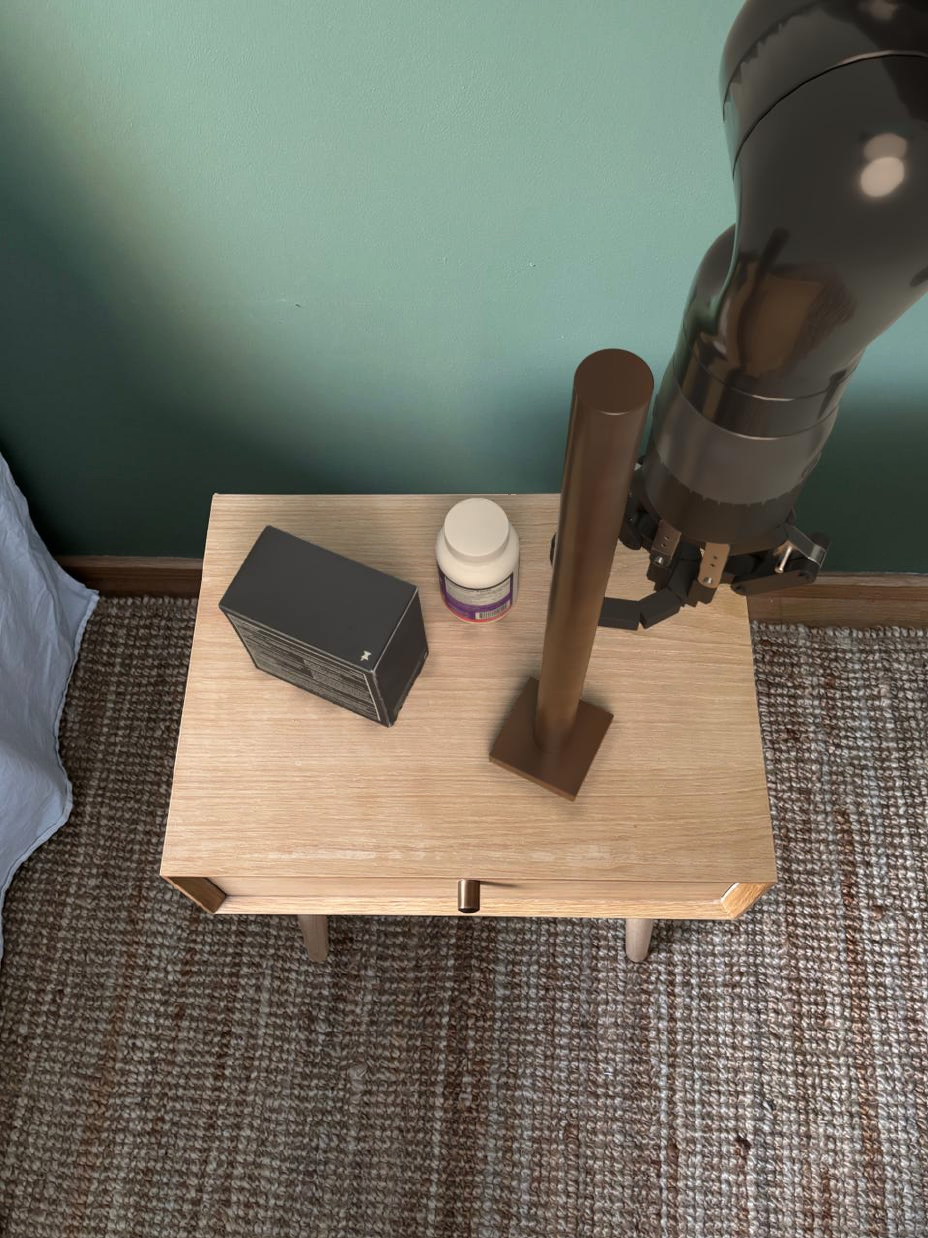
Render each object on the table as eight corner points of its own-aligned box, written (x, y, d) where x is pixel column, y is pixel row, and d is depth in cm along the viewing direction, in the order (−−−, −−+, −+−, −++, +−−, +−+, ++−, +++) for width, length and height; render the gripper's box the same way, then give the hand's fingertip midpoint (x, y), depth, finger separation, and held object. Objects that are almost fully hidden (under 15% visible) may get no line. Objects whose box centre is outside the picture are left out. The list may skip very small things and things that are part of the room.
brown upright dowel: (612, 721, 68) (745, 341, 31) (573, 802, 66) (668, 498, 29) (529, 682, 69) (565, 273, 32) (489, 761, 67) (478, 419, 30)
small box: (434, 647, 70) (424, 582, 60) (392, 731, 68) (374, 679, 58) (298, 588, 72) (266, 517, 62) (252, 669, 70) (212, 608, 60)
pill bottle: (456, 546, 73) (451, 475, 64) (529, 569, 72) (533, 501, 63) (428, 612, 71) (418, 549, 62) (502, 637, 70) (503, 577, 61)
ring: (719, 530, 64) (723, 520, 63) (662, 654, 61) (665, 646, 60) (588, 477, 66) (590, 466, 64) (527, 595, 63) (527, 585, 61)
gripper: (912, 417, 46) (809, 580, 62) (630, 313, 49) (601, 494, 65) (857, 554, 44) (765, 686, 60) (564, 436, 47) (550, 592, 63)
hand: (679, 585), depth 62 cm, fingers closed on ring, 1 cm apart
